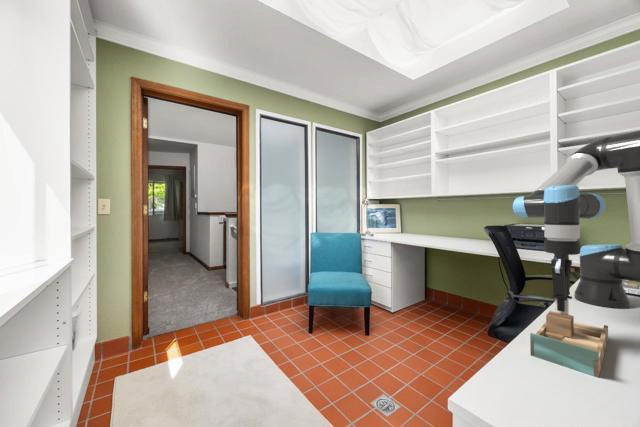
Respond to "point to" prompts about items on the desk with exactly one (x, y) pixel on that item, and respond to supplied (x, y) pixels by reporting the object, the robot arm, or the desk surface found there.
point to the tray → (572, 347)
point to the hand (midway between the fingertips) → (561, 321)
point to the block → (560, 323)
